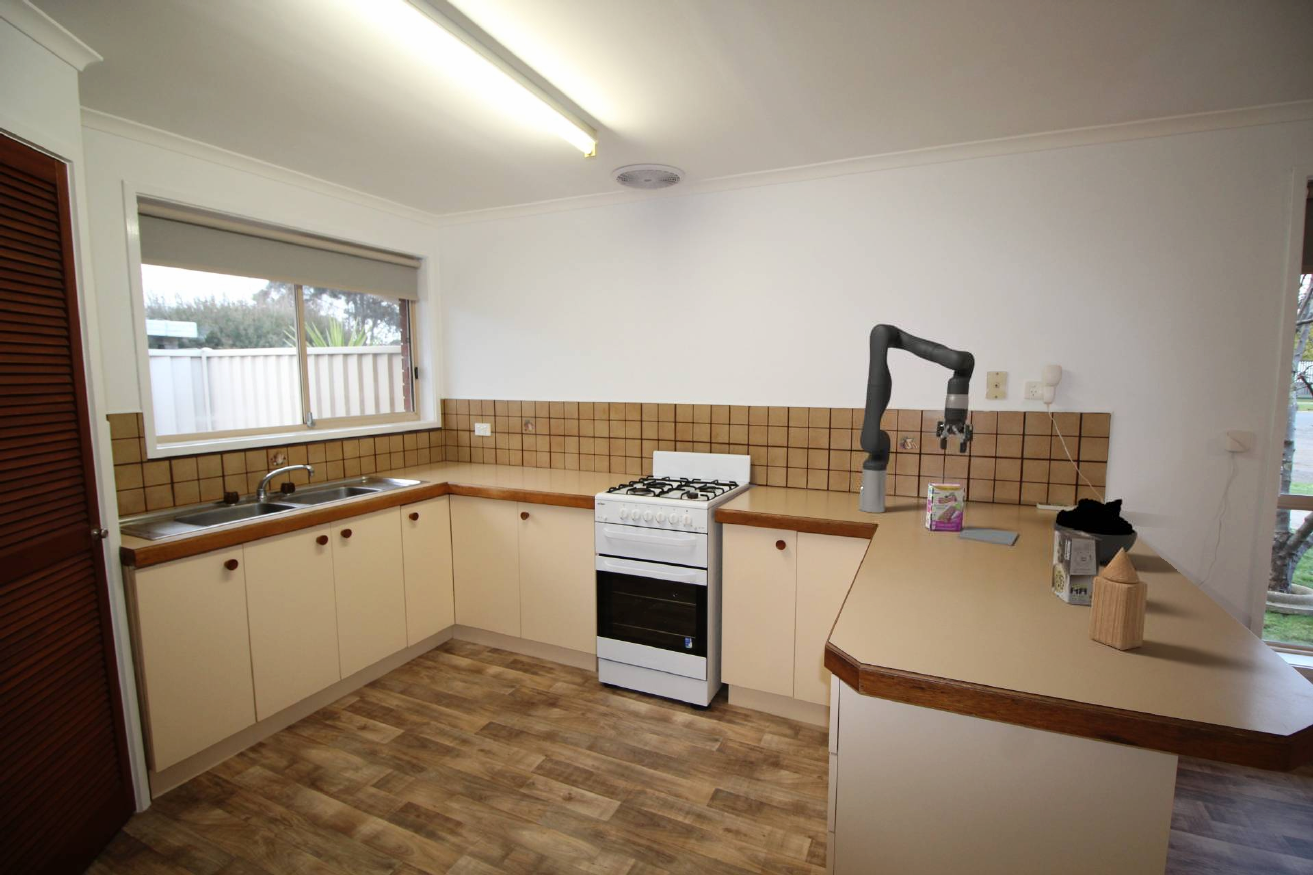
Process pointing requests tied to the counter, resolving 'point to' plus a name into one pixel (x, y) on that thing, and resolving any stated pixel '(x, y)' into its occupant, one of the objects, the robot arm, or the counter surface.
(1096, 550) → the coffee box
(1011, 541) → the mat
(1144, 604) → the decorative item
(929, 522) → the candy bar box
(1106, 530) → the bowl of black rocks
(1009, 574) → the counter surface
